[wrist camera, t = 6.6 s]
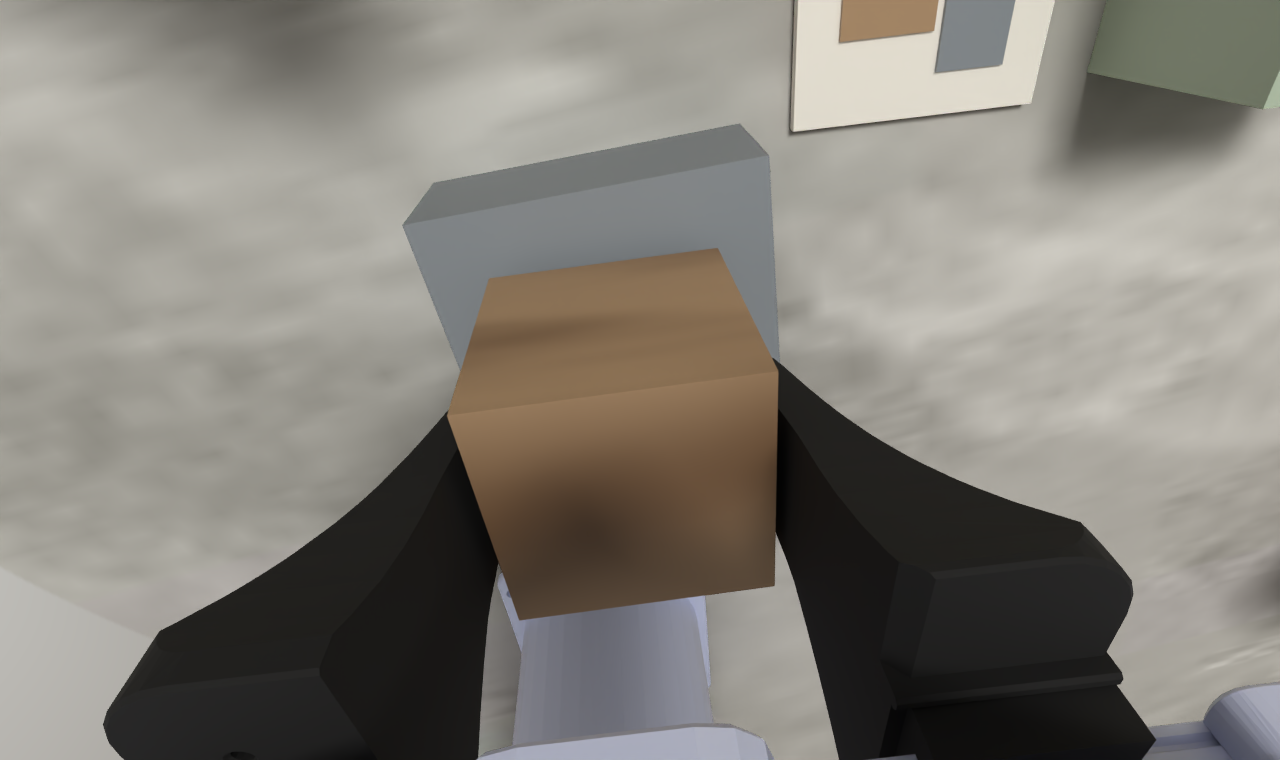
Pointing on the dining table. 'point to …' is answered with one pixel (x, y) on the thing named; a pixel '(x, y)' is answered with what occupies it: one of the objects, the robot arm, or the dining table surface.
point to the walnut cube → (621, 434)
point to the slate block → (601, 221)
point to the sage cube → (1194, 47)
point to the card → (912, 58)
